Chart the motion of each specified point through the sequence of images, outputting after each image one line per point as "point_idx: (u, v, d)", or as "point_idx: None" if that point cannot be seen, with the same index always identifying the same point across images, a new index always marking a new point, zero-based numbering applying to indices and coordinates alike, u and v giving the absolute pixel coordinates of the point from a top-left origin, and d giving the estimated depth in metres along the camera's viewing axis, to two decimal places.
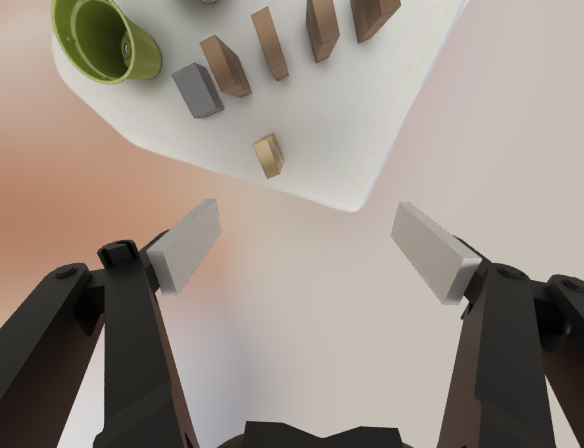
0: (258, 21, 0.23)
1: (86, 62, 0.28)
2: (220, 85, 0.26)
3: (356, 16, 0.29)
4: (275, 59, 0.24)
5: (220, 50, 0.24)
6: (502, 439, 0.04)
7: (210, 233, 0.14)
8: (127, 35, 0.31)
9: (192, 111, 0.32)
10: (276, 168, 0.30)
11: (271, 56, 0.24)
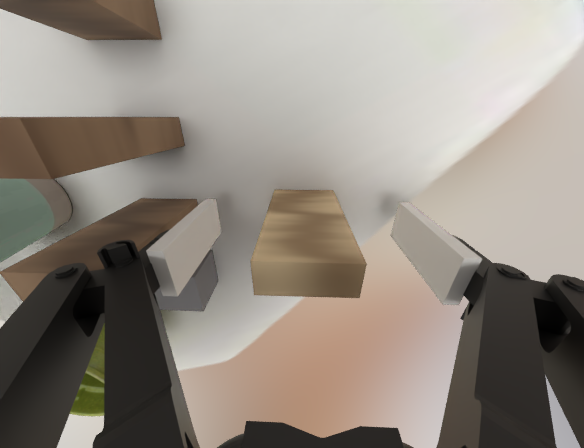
0: None
1: None
2: None
3: None
4: (21, 149, 0.07)
5: (31, 274, 0.10)
6: (502, 439, 0.04)
7: (210, 233, 0.14)
8: None
9: (193, 308, 0.19)
10: (344, 265, 0.09)
11: (15, 159, 0.07)
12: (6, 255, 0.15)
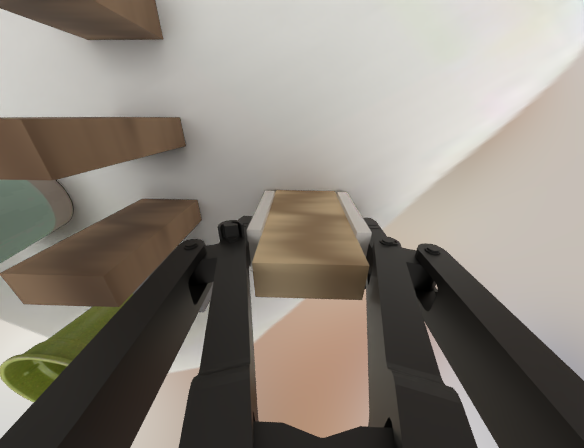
0: None
1: None
2: (106, 303, 0.11)
3: None
4: (22, 150, 0.07)
5: (31, 275, 0.10)
6: (412, 400, 0.04)
7: None
8: None
9: None
10: (347, 267, 0.09)
11: (16, 160, 0.07)
12: (7, 255, 0.15)
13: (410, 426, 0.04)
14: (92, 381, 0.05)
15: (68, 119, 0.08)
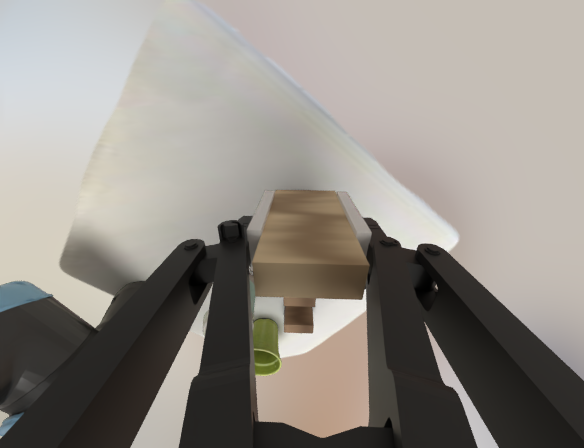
0: (288, 303, 0.34)
1: (264, 365, 0.47)
2: (309, 332, 0.36)
3: None
4: (311, 302, 0.33)
5: (292, 325, 0.36)
6: (412, 400, 0.04)
7: None
8: None
9: None
10: (347, 267, 0.09)
11: (309, 303, 0.33)
12: None
13: (410, 426, 0.04)
14: (92, 381, 0.05)
15: None
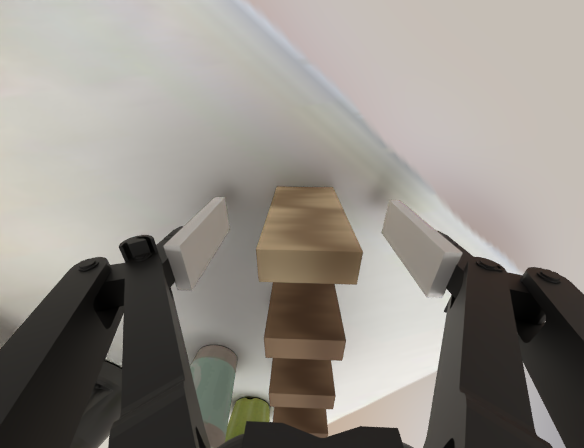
0: None
1: None
2: None
3: None
4: None
5: None
6: (486, 430, 0.04)
7: (220, 230, 0.14)
8: None
9: None
10: (342, 253, 0.10)
11: None
12: None
13: None
14: None
15: (325, 412, 0.20)
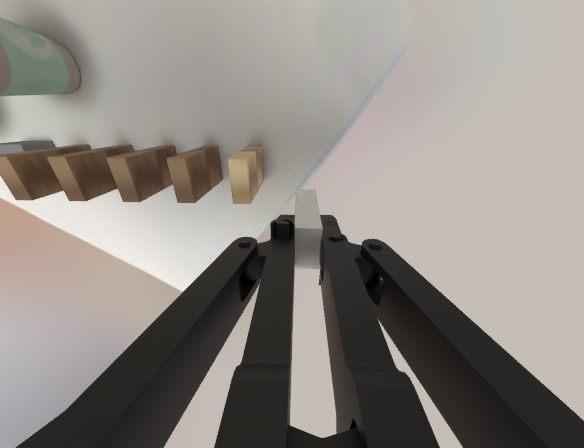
0: (55, 164, 0.23)
1: None
2: (15, 195, 0.25)
3: None
4: (75, 196, 0.24)
5: (13, 170, 0.23)
6: (372, 397, 0.04)
7: None
8: None
9: None
10: (248, 196, 0.24)
11: (71, 193, 0.24)
12: None
13: (373, 426, 0.04)
14: (149, 364, 0.05)
15: (96, 196, 0.26)
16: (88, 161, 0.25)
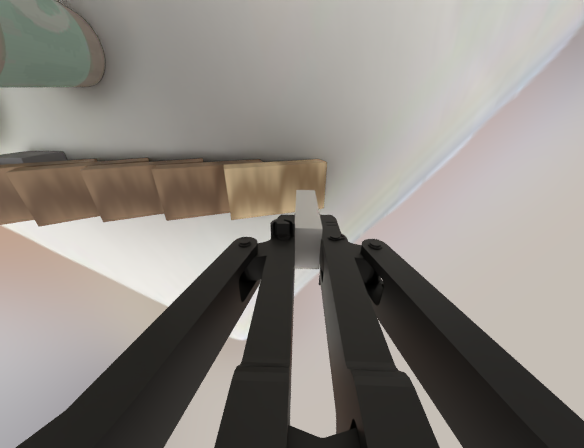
0: None
1: None
2: None
3: None
4: None
5: None
6: (372, 397, 0.04)
7: None
8: None
9: None
10: (230, 210, 0.21)
11: None
12: None
13: (373, 426, 0.04)
14: (149, 364, 0.05)
15: (61, 222, 0.20)
16: (51, 179, 0.19)
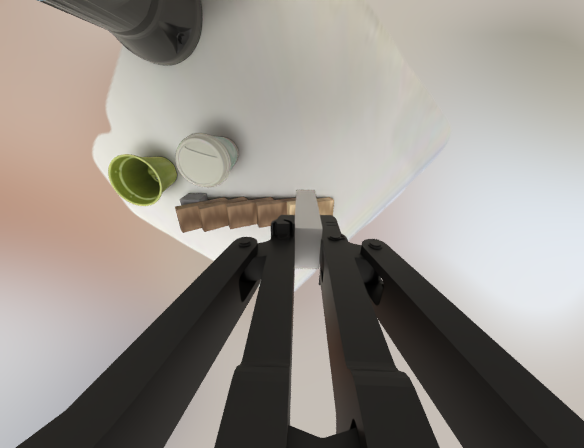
0: (198, 210, 0.42)
1: (122, 182, 0.40)
2: (180, 226, 0.44)
3: None
4: (202, 227, 0.44)
5: (178, 216, 0.41)
6: (372, 397, 0.04)
7: None
8: None
9: None
10: None
11: (202, 225, 0.44)
12: None
13: (373, 426, 0.04)
14: (149, 364, 0.05)
15: (212, 229, 0.44)
16: (213, 210, 0.42)
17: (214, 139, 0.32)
